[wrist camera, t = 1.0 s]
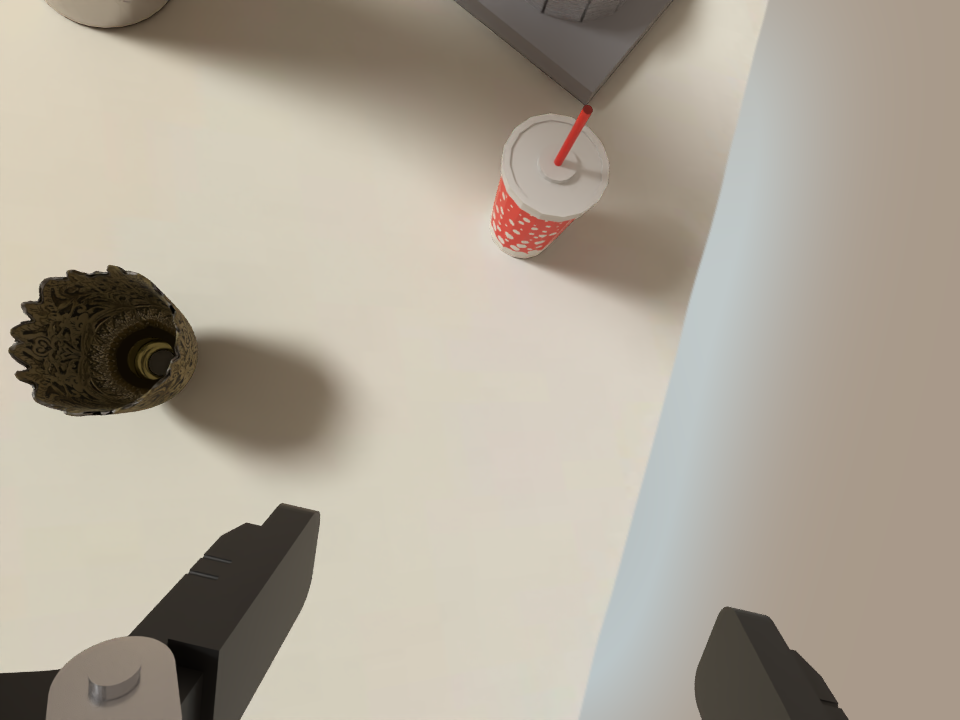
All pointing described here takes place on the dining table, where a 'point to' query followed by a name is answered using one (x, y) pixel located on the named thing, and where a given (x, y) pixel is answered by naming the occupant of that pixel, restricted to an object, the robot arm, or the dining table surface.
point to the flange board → (569, 39)
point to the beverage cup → (546, 181)
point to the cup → (102, 343)
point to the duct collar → (577, 8)
